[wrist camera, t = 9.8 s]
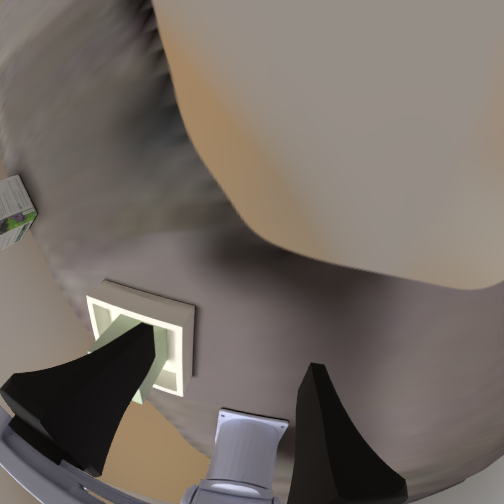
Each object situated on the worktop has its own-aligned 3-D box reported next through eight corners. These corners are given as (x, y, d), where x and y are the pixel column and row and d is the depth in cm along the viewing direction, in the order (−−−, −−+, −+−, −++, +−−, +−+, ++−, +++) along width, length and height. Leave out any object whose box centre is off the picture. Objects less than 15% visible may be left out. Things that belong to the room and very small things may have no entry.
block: (167, 359, 24) (142, 404, 19) (127, 345, 25) (98, 385, 19) (166, 325, 22) (135, 371, 17) (122, 310, 23) (87, 350, 17)
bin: (192, 376, 26) (183, 397, 23) (116, 349, 26) (103, 366, 24) (194, 305, 22) (182, 327, 19) (104, 279, 23) (86, 295, 20)
